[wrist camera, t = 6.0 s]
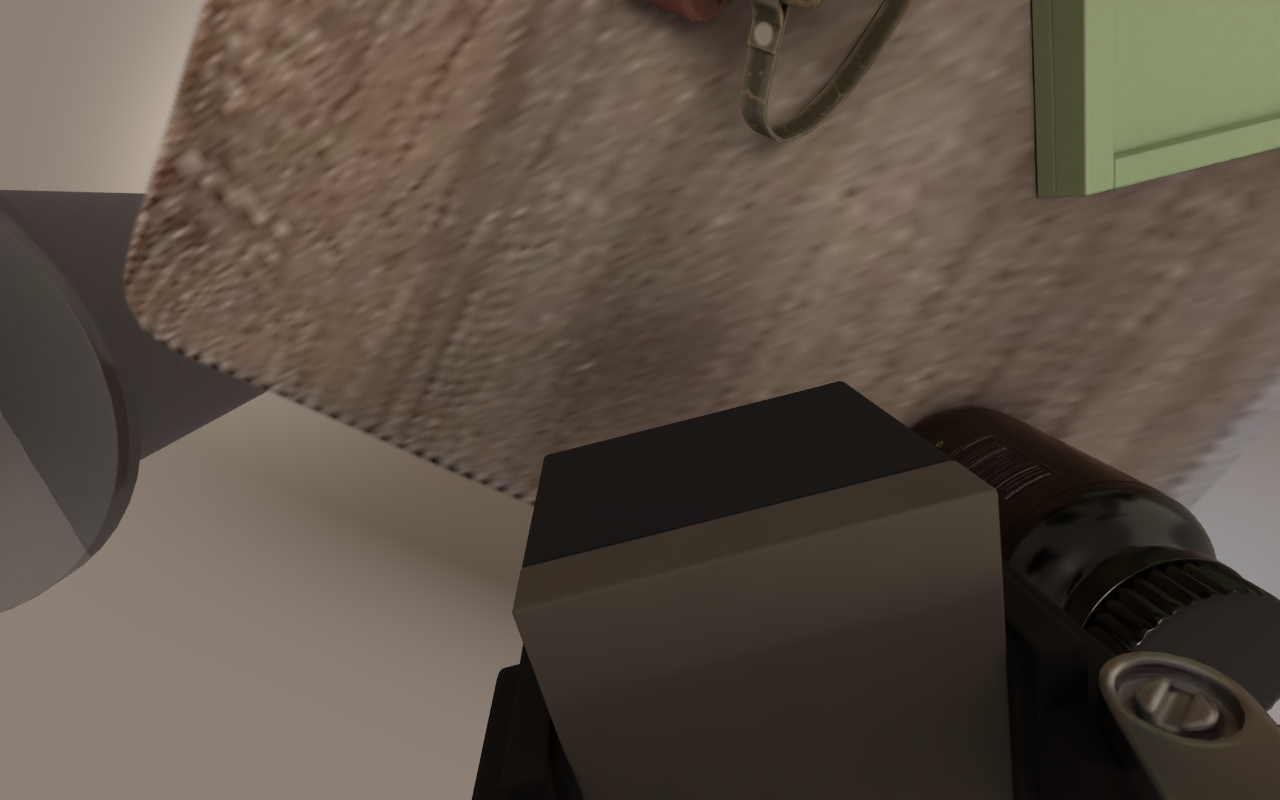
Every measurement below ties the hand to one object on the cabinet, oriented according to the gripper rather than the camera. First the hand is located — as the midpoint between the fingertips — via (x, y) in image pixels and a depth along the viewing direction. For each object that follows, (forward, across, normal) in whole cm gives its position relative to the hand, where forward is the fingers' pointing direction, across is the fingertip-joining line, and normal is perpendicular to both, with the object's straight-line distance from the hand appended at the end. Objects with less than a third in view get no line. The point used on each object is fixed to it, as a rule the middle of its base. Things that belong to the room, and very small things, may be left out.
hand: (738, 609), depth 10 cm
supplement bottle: (+15, -12, +8) cm, 20 cm away
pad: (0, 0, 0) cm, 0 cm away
